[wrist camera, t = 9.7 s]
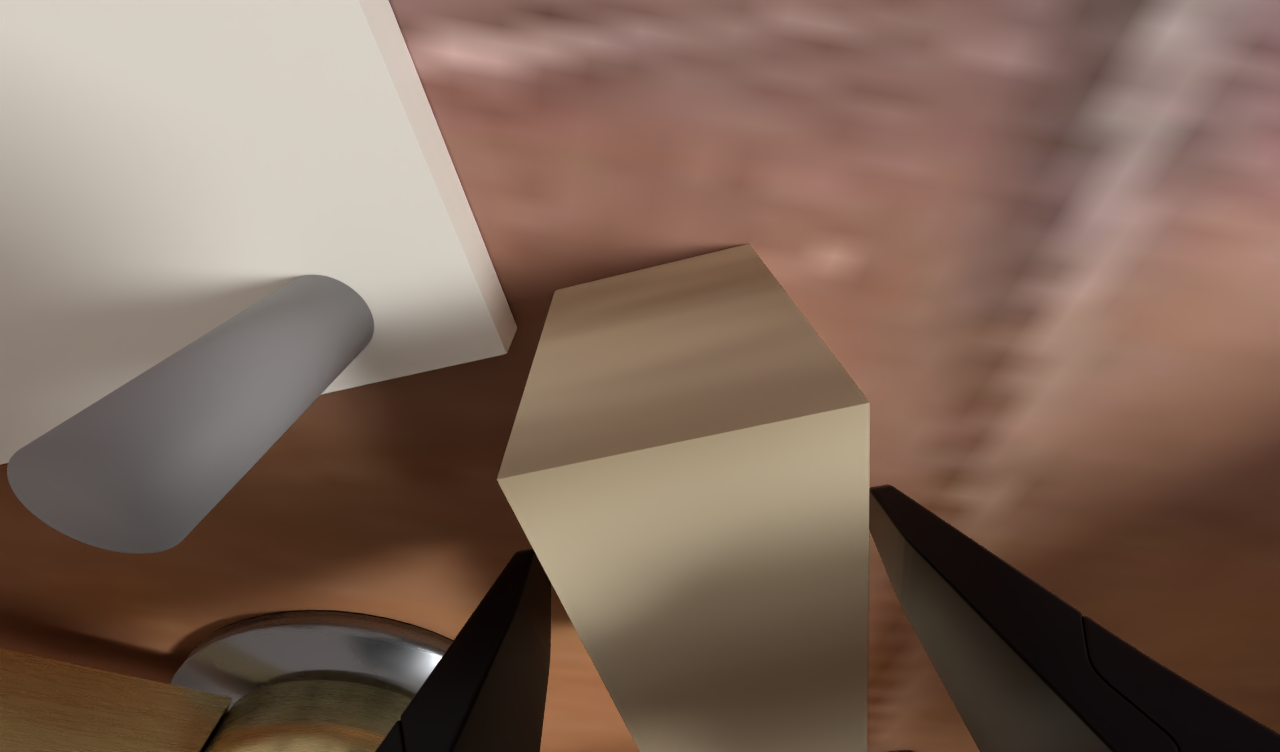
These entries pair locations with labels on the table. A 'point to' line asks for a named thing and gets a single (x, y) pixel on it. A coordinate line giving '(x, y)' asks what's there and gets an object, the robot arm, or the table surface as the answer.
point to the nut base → (312, 653)
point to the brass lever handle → (182, 713)
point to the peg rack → (212, 245)
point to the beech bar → (702, 505)
